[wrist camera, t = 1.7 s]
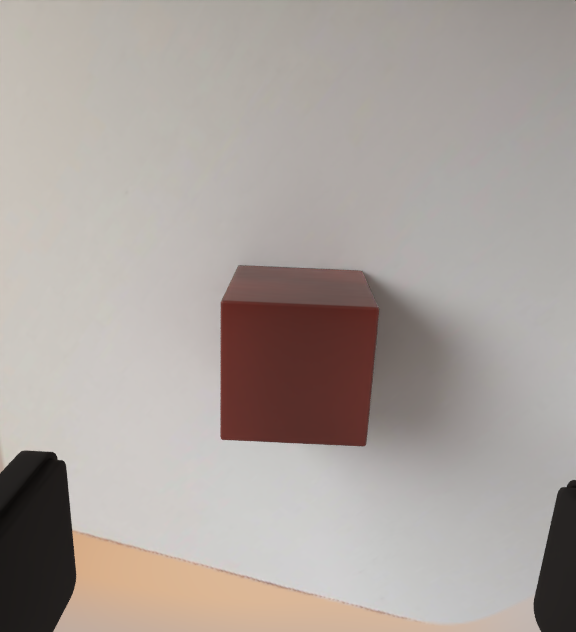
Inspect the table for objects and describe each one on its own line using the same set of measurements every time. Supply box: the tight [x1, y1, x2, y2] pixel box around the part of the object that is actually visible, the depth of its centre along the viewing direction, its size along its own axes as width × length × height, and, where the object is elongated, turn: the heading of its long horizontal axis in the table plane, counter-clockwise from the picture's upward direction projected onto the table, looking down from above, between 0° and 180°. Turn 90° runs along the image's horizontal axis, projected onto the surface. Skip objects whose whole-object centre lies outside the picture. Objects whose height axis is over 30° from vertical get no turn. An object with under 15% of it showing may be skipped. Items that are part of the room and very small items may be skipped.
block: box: [221, 265, 379, 446], centre depth 18 cm, size 4×4×4 cm
